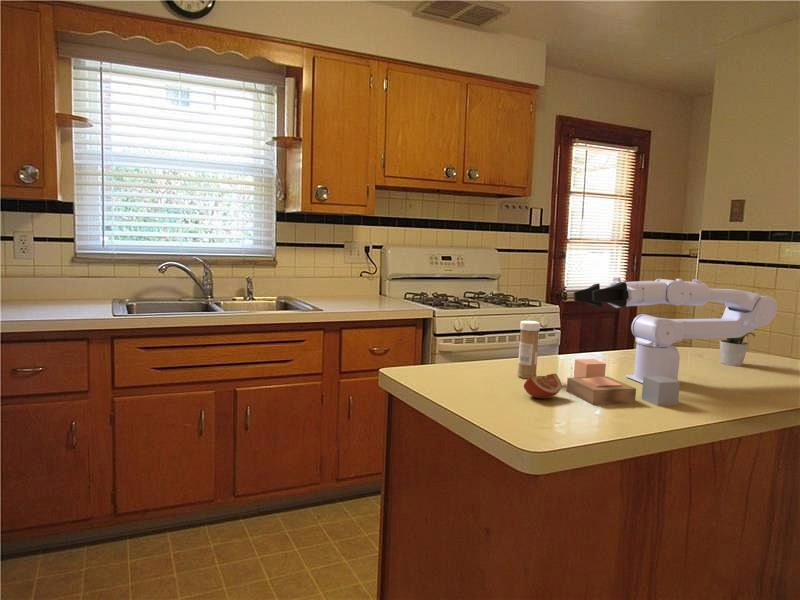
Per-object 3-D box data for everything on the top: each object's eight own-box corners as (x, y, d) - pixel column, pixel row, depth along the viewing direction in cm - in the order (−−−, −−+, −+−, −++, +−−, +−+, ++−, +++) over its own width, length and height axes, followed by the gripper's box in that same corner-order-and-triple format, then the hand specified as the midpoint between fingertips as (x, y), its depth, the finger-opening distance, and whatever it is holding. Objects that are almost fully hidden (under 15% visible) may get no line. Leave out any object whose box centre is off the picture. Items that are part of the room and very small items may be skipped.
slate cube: (661, 398, 127) (663, 375, 126) (677, 405, 122) (680, 381, 121) (641, 399, 125) (643, 376, 125) (657, 406, 121) (659, 382, 120)
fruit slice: (543, 391, 128) (545, 369, 128) (568, 399, 123) (570, 376, 122) (516, 396, 123) (518, 373, 123) (541, 405, 118) (543, 381, 117)
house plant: (694, 363, 164) (700, 305, 162) (701, 355, 175) (707, 301, 173) (753, 372, 156) (760, 311, 154) (757, 363, 167) (764, 306, 165)
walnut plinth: (606, 391, 132) (607, 375, 131) (634, 404, 122) (636, 387, 122) (566, 393, 129) (567, 376, 129) (592, 406, 120) (593, 388, 119)
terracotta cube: (591, 379, 141) (593, 358, 141) (604, 384, 137) (605, 363, 136) (573, 379, 140) (574, 359, 140) (585, 385, 135) (586, 364, 135)
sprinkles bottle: (540, 378, 140) (544, 322, 139) (526, 380, 138) (530, 323, 136) (526, 373, 144) (530, 319, 142) (512, 375, 141) (516, 320, 140)
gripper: (615, 278, 145) (566, 280, 141) (655, 274, 131) (601, 277, 127) (617, 306, 145) (567, 309, 141) (656, 306, 131) (602, 309, 127)
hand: (583, 296), depth 134 cm, fingers open, 7 cm apart
